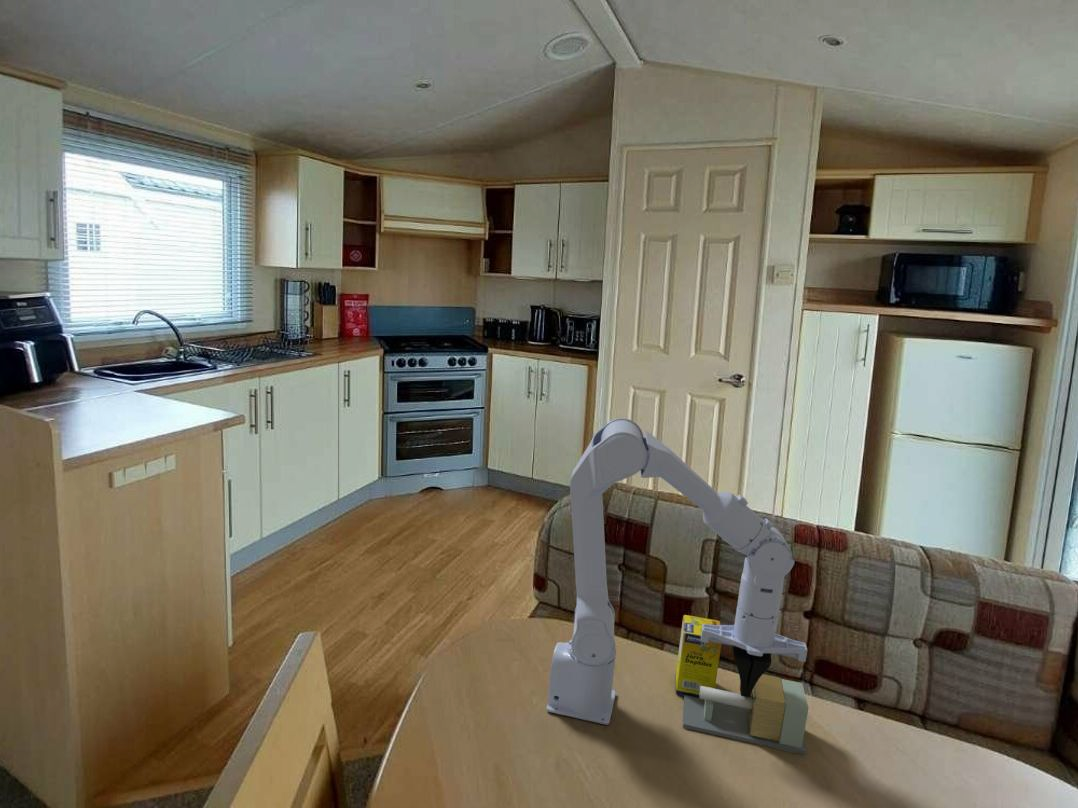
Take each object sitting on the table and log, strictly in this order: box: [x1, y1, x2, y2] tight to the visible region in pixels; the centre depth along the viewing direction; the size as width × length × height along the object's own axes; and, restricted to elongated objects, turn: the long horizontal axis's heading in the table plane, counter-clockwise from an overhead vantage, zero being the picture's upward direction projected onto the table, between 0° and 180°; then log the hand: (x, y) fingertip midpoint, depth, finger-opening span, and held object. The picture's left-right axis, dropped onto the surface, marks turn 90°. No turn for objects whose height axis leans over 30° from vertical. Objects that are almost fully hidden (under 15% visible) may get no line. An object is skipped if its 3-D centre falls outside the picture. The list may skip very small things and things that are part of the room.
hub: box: [747, 673, 786, 741], centre depth 95 cm, size 4×6×6 cm, turn 166°
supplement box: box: [675, 614, 723, 698], centre depth 104 cm, size 6×6×11 cm
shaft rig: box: [682, 678, 809, 756], centre depth 96 cm, size 17×7×7 cm, turn 76°
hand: (744, 692), depth 96 cm, fingers closed
